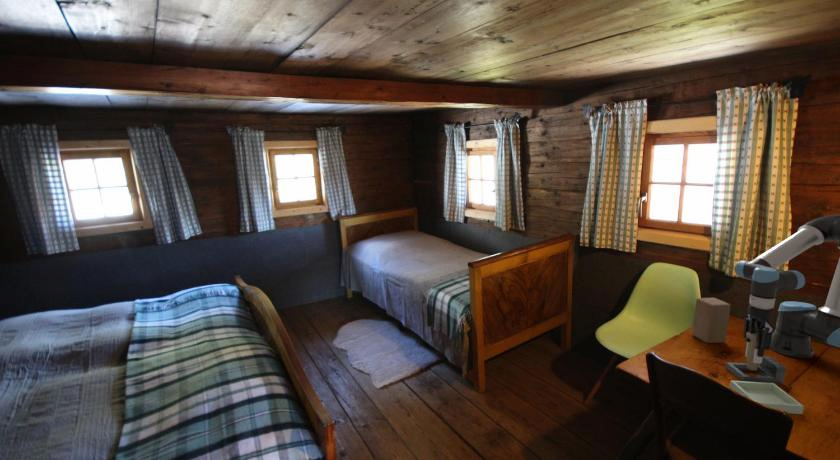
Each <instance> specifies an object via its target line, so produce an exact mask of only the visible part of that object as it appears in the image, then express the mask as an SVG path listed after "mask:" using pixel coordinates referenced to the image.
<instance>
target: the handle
mask: <svg viewBox="0 0 840 460" xmlns="http://www.w3.org/2000/svg"><path fill="white" fill-rule="evenodd" d="M746 336H747V337H748V338H749V339H750V346H749V350H748V354H747V357H746V363H747V368H748V369H750V370H755V371H754V372H756V370H757V367H758V365H759V364H760V363H753V358H754V351H755V347H757V333H750V332H747V333H746Z"/></svg>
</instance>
